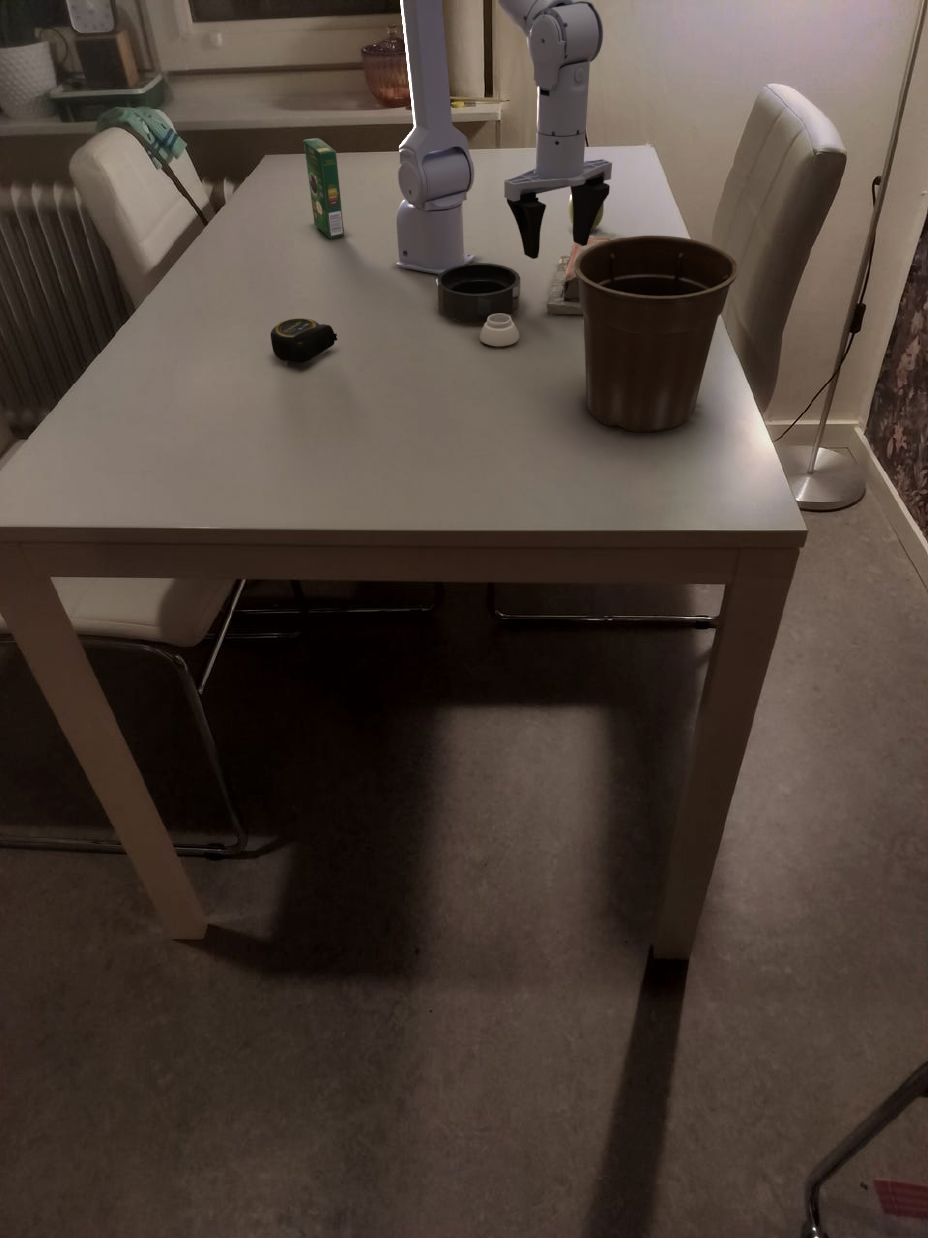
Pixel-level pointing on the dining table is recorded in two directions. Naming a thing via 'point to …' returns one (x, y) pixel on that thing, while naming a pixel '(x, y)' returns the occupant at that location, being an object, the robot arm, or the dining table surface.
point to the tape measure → (301, 339)
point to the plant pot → (649, 326)
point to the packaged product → (568, 282)
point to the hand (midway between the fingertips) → (555, 249)
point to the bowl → (478, 291)
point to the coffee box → (324, 187)
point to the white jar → (499, 331)
